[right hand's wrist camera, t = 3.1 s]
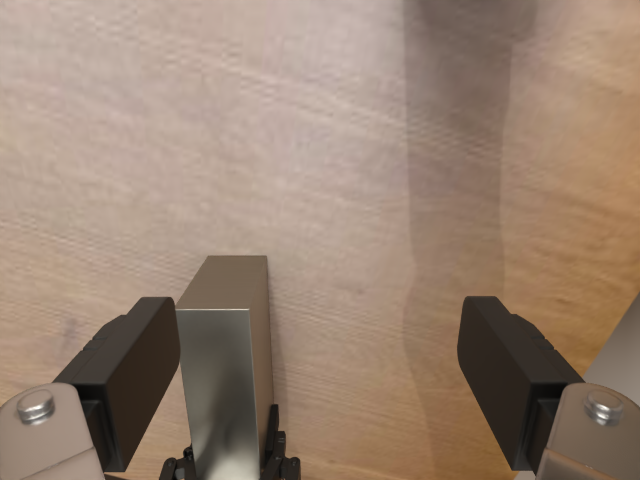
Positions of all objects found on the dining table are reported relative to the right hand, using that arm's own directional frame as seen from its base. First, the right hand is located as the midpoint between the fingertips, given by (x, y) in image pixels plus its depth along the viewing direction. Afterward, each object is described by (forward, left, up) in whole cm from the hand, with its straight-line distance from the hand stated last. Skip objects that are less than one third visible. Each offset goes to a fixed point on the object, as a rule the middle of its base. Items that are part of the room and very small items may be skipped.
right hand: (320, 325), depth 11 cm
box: (+14, +19, -30) cm, 39 cm away
